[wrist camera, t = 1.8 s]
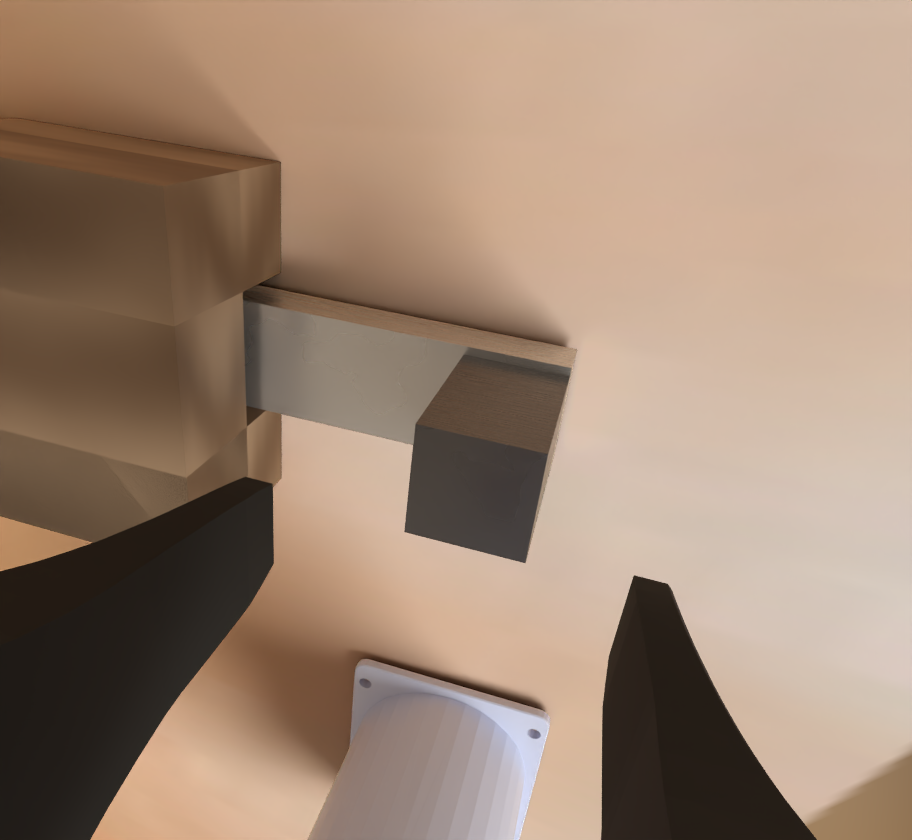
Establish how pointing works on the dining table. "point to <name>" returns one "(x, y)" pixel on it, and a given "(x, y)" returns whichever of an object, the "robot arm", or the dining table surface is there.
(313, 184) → the dining table surface
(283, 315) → the grey l-shaped bar
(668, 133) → the dining table surface
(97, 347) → the bearing block
